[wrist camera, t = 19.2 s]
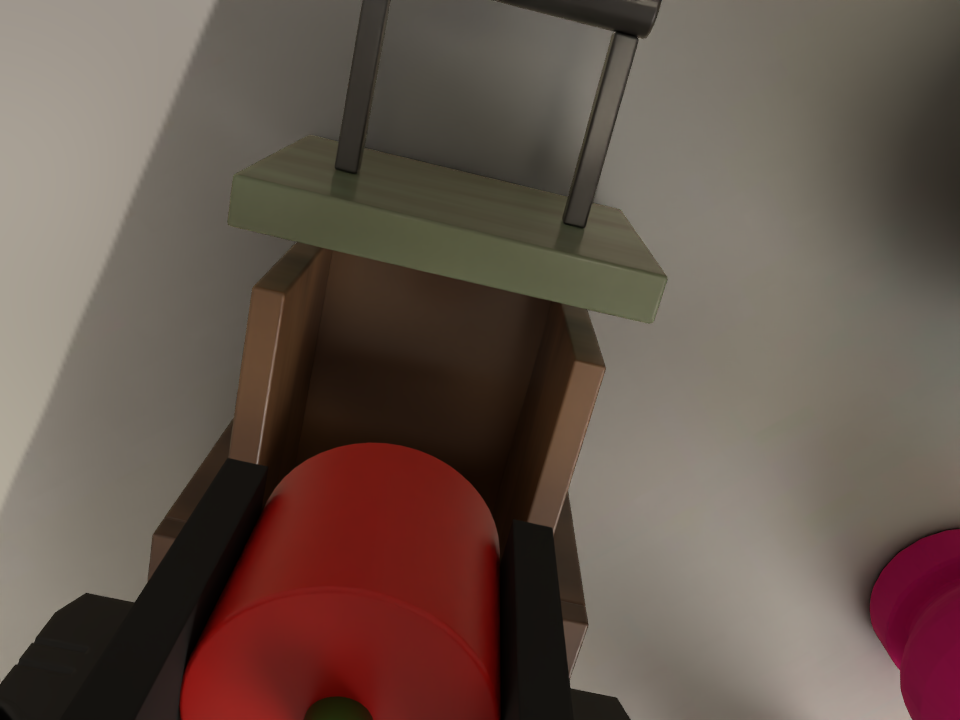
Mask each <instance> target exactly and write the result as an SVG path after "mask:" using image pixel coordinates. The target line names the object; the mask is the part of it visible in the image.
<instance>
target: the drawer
mask: <svg viewBox="0 0 960 720" xmlns="http://www.w3.org/2000/svg"><path fill="white" fill-rule="evenodd" d="M492 1H496V2H500V3H504V4H508V5H512V6H516V7H520V8H524V9H528V10H532V11H536V12H540V13H543V14H547V15H551V16H555V17H559V18H563V19H567V20H571V21H575V22H579V23H583V24H587V25H590V26H594V27H598V28H602V29H606V30H610V31H614V32H615V33H613V34H612V36H611V40H610V44H609V47H608V51H607V55H606V58H605V62H604V66H603V69H602V73H601V77H600V80H599V84H598V88H597V91H596V95H595V99H594V102H593V106H592V110H591V113H590V117H589V121H588V124H587V128H586V132H585V135H584V139H583V143H582V146H581V150H580V154H579V157H578V161H577V165H576V168H575V172H574V176H573V179H572V183H571V187H570V190H569V194H568V197H567V196H562V195H558V194H554V193H550V192H546V191H542V190H538V189H533V188H529V187H525V186H521V185H517V184H513V183H508V182H504V181H500V180H496V179H492V178H488V177H484V176H479V175H475V174H471V173H467V172H463V171H459V170H455V169H450V168H446V167H442V166H438V165H434V164H430V163H426V162H421V161H417V160H413V159H409V158H405V157H401V156H397V155H392V154H388V153H384V152H380V151H376V150H372V149H367V148H364V147H365V141H366V135H367V130H368V124H369V119H370V113H371V108H372V102H373V97H374V91H375V86H376V80H377V74H378V69H379V63H380V58H381V52H382V47H383V41H384V36H385V30H386V25H387V19H388V13H389V8H390V2H391V0H362V6H361V12H360V18H359V24H358V30H357V36H356V42H355V47H354V53H353V59H352V65H351V71H350V77H349V83H348V89H347V95H346V101H345V107H344V113H343V118H342V124H341V130H340V136H339V142H338V141H334V140H330V139H326V138H322V137H318V136H314V135H308V136H306V137H304V138H302V139H300V140H298V141H296V142H294V143H293V144H291V145H289V146H287V147H285V148H283V149H281V150H279V151H277V152H275V153H274V154H272V155H270V156H268V157H266V158H264V159H262V160H260V161H258V162H256V163H255V164H253V165H251V166H249V167H247V168H245V169H243V170H241V171H239V172H237V173H236V174H234V176H233V180H232V188H231V196H230V204H229V211H228V219H227V223H228V225H229V226H231V227H235V228H240V229H244V230H248V231H252V232H257V233H261V234H265V235H270V236H274V237H278V238H283V239H287V240H291V241H295V242H296V243H295V244H294V245H293V246H292V247H291V248H290V249H289V250H288V251H287V252H286V254H285V255H284V256H283V257H282V258H281V259H280V260H279V261H278V262H277V263H276V264H275V265H274V266H273V267H272V268H271V269H270V270H269V271H268V272H267V273H266V274H265V275H264V276H263V277H262V278H261V279H260V280H259V281H258V282H257V283H256V284H255V285H254V286H253V288H252V292H251V299H250V307H249V314H248V321H247V328H246V335H245V342H244V349H243V356H242V363H241V370H240V378H239V385H238V392H237V399H236V406H235V413H234V420H233V427H232V434H231V441H230V448H229V456H228V458H231V459H235V460H240V461H245V462H249V463H254V464H259V465H263V466H268V473H267V479H266V486H265V492H264V498H263V504H262V510H261V513H262V511H263V509H264V507H265V505H266V503H267V501H268V499H269V497H270V496H271V494H272V492H273V491H274V489H275V488H276V487H277V485H278V484H279V483H280V482H281V481H282V479H283V478H284V477H285V476H286V475H288V474H289V473H290V472H291V471H292V470H293V469H294V468H295V467H297V466H298V465H300V464H301V463H303V462H304V461H306V460H307V459H309V458H311V457H314V456H316V455H318V454H320V453H322V452H325V451H328V450H331V449H334V448H337V447H341V446H346V445H351V444H358V443H388V444H394V445H401V446H405V447H409V448H412V449H416V450H419V451H422V452H424V453H426V454H429V455H431V456H434V457H435V458H437V459H439V460H441V461H443V462H444V463H446V464H448V465H449V466H450V467H452V468H453V469H455V470H456V471H457V472H459V473H460V474H461V475H462V476H463V477H464V478H465V479H466V480H467V481H468V482H470V483H471V484H472V485H473V487H474V488H475V489H476V490H477V492H478V493H479V494H480V495H481V497H482V498H483V500H484V502H485V503H486V505H487V507H488V508H489V510H490V512H491V515H492V517H493V520H494V522H495V525H496V529H497V533H498V538H499V548H500V563H501V559H502V556H503V552H504V549H505V546H506V542H507V539H508V535H509V532H510V528H511V525H512V521H513V519H515V520H520V521H525V522H529V523H534V524H539V525H543V526H548V527H552V528H553V536H554V533H555V530H556V526H557V523H558V520H559V517H560V514H561V510H562V507H563V504H564V501H565V498H566V494H567V491H568V488H569V485H570V482H571V478H572V475H573V472H574V469H575V466H576V462H577V459H578V456H579V453H580V450H581V447H582V443H583V440H584V437H585V434H586V431H587V427H588V424H589V421H590V418H591V415H592V411H593V408H594V405H595V402H596V399H597V395H598V392H599V389H600V386H601V383H602V379H603V376H604V373H605V370H606V366H605V363H604V360H603V357H602V354H601V351H600V348H599V345H598V342H597V339H596V335H595V332H594V329H593V326H592V323H591V320H590V317H589V314H588V311H587V309H588V310H592V311H596V312H601V313H605V314H609V315H614V316H618V317H622V318H626V319H631V320H635V321H639V322H644V323H648V324H651V323H653V321H654V319H655V316H656V313H657V310H658V307H659V304H660V301H661V298H662V295H663V292H664V289H665V286H666V283H667V280H668V279H667V275H666V274H665V273H664V271H663V270H662V268H661V267H660V265H659V264H658V262H657V261H656V260H655V258H654V257H653V255H652V254H651V252H650V251H649V250H648V248H647V247H646V245H645V244H644V242H643V241H642V240H641V238H640V237H639V235H638V234H637V232H636V231H635V230H634V228H633V227H632V225H631V224H630V222H629V221H628V219H627V218H626V217H625V215H624V214H623V212H622V211H621V210H620V209H616V208H612V207H608V206H604V205H600V204H596V203H593V199H594V196H595V192H596V189H597V185H598V182H599V178H600V175H601V171H602V168H603V164H604V161H605V157H606V154H607V150H608V147H609V143H610V140H611V136H612V132H613V129H614V125H615V122H616V118H617V115H618V111H619V108H620V104H621V101H622V97H623V94H624V90H625V87H626V83H627V80H628V76H629V73H630V69H631V66H632V62H633V59H634V55H635V52H636V48H637V45H638V38H641V39H644V38H646V37H647V36H648V35H649V33H650V32H651V30H652V28H653V26H654V23H655V21H656V18H657V15H658V12H659V9H660V5H661V2H662V0H492ZM637 37H638V38H637Z"/></svg>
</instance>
